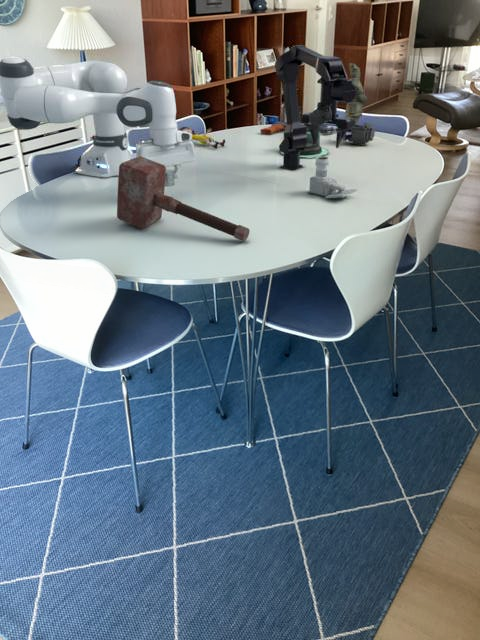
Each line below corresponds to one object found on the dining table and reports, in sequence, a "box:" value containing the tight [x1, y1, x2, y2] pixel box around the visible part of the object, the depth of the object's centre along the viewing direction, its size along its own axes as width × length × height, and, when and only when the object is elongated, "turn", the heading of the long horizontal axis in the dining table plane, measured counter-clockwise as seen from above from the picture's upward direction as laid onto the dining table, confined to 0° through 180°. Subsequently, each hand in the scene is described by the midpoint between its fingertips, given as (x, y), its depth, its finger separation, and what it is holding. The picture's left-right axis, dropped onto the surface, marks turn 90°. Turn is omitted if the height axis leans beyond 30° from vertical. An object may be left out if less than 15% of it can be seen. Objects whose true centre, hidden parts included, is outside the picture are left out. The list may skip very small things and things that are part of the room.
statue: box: [344, 62, 368, 125], centre depth 262 cm, size 11×9×30 cm
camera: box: [308, 155, 359, 199], centre depth 182 cm, size 9×12×15 cm
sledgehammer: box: [116, 156, 250, 242], centre depth 156 cm, size 17×10×40 cm
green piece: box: [280, 128, 328, 159], centre depth 234 cm, size 15×19×20 cm
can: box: [165, 168, 176, 188], centre depth 183 cm, size 4×4×5 cm
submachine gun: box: [260, 121, 335, 136], centre depth 265 cm, size 32×3×25 cm
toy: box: [342, 122, 376, 146], centre depth 244 cm, size 9×9×15 cm
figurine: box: [179, 126, 226, 150], centre depth 251 cm, size 13×8×25 cm
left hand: (167, 179), depth 183 cm, fingers closed on can, 4 cm apart
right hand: (326, 146), depth 194 cm, fingers open, 9 cm apart
